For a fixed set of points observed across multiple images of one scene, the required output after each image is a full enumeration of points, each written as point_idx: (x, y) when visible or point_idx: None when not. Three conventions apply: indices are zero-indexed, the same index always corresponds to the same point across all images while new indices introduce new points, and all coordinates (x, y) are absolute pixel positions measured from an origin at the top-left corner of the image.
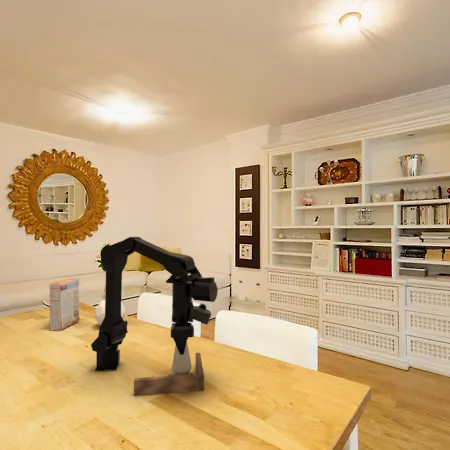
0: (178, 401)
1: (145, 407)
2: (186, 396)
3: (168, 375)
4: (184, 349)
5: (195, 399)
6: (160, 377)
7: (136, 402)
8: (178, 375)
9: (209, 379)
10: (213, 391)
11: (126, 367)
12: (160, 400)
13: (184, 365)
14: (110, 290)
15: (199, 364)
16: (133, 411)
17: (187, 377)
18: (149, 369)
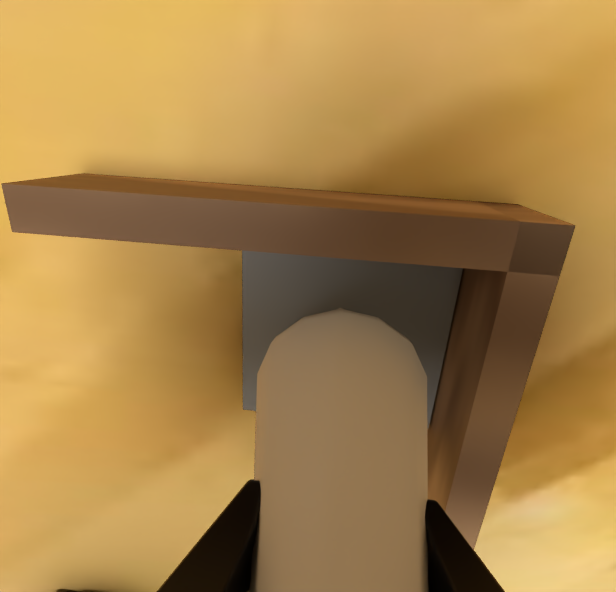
0: (581, 375)
1: (563, 515)
2: (544, 327)
3: (255, 405)
4: (483, 566)
5: (608, 279)
6: (457, 524)
7: (497, 543)
8: (470, 422)
9: (353, 133)
10: (558, 133)
11: (118, 565)
12: (525, 455)
13: (426, 408)
14: None
15: (299, 232)
16: (574, 554)
17: (528, 364)
18: (147, 480)
